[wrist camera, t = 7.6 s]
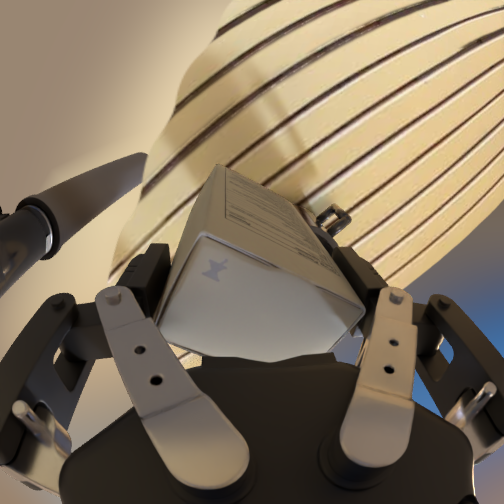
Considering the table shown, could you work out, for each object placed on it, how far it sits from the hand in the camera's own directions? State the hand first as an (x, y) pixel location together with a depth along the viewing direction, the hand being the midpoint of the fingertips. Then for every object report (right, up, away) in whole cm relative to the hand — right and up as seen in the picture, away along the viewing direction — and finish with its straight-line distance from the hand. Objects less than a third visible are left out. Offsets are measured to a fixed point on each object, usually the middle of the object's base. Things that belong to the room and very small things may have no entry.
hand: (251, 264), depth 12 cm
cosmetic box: (-1, +4, +7) cm, 8 cm away
